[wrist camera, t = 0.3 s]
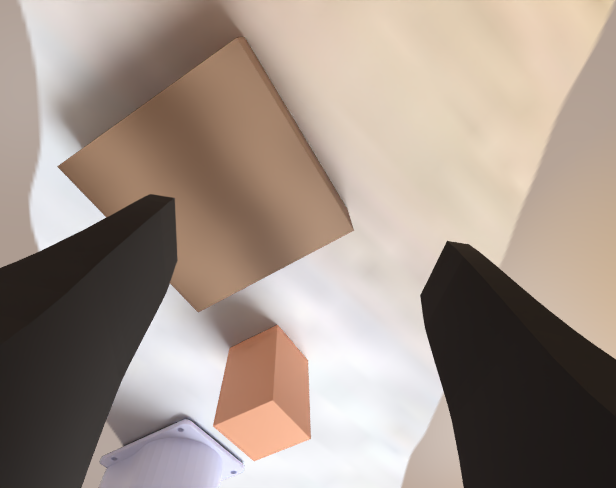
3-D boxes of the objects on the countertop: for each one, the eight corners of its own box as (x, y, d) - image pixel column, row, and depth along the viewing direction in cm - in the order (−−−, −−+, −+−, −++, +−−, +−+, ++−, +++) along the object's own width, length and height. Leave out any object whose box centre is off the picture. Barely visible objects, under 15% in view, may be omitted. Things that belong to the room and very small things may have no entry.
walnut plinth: (207, 286, 23) (198, 312, 21) (84, 151, 19) (57, 166, 17) (347, 210, 21) (353, 230, 19) (244, 37, 17) (236, 37, 15)
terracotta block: (261, 381, 28) (253, 461, 23) (229, 347, 26) (213, 426, 21) (308, 360, 27) (310, 438, 22) (277, 324, 25) (272, 400, 20)
